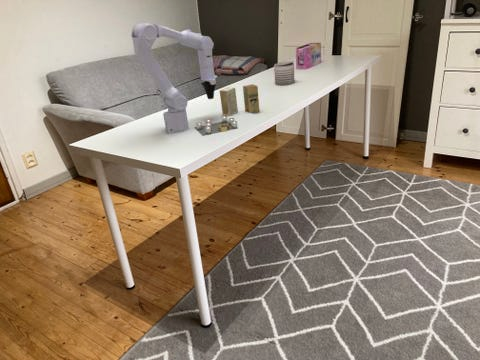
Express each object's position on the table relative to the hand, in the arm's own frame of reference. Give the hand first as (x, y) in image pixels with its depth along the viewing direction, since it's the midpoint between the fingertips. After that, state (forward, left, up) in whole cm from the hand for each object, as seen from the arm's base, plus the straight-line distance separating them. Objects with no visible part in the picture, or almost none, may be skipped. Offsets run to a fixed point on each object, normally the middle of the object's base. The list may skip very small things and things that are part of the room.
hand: (210, 98), depth 169 cm
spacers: (-3, -13, -9) cm, 16 cm away
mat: (-3, -13, -10) cm, 16 cm away
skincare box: (+9, +3, -10) cm, 14 cm away
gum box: (+94, +80, -10) cm, 124 cm away
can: (+57, +43, -10) cm, 72 cm away
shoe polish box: (+19, +1, -10) cm, 22 cm away
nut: (-1, -17, -9) cm, 19 cm away
